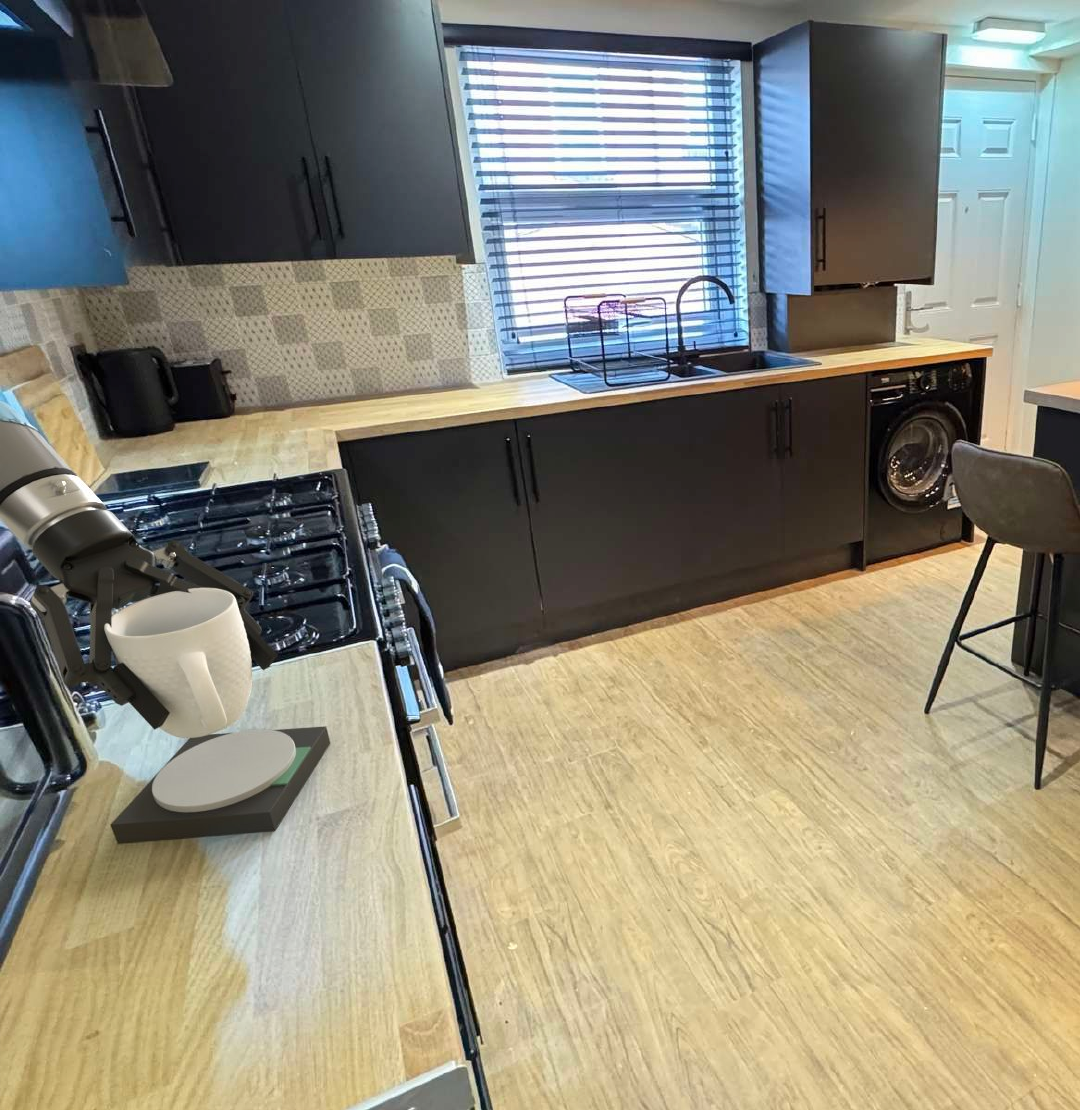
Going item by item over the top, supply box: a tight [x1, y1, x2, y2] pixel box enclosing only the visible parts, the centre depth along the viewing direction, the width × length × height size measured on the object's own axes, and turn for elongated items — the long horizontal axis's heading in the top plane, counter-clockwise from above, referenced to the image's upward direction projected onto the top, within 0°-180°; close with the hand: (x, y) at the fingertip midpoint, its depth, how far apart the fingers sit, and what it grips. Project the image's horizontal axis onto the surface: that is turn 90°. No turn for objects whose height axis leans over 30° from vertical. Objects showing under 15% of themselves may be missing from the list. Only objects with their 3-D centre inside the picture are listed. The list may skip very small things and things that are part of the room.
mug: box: [104, 588, 253, 739], centre depth 79 cm, size 15×11×13 cm
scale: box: [110, 725, 331, 845], centre depth 85 cm, size 15×15×3 cm
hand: (219, 690), depth 79 cm, fingers closed on mug, 11 cm apart
